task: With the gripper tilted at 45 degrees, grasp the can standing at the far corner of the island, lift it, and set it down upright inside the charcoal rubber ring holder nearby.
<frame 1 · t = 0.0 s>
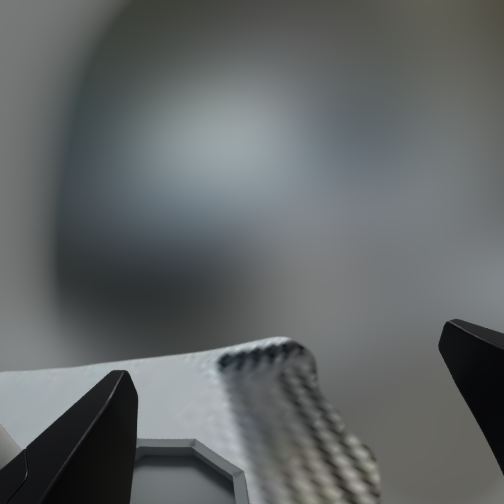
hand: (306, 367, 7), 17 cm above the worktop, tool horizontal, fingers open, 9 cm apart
can: (26, 500, 11), on the worktop
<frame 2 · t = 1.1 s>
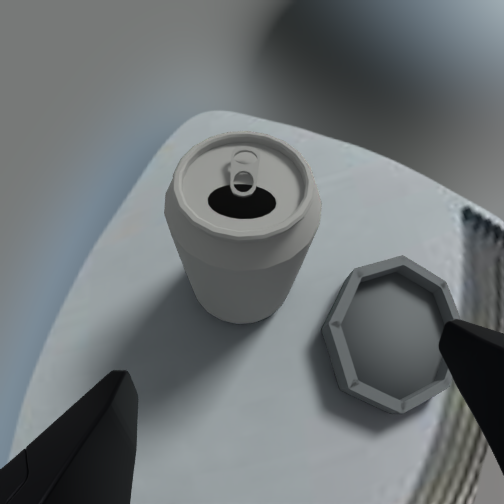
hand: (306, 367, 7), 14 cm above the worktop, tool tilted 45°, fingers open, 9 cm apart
can: (241, 280, 23), on the worktop
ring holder: (394, 336, 21), on the worktop
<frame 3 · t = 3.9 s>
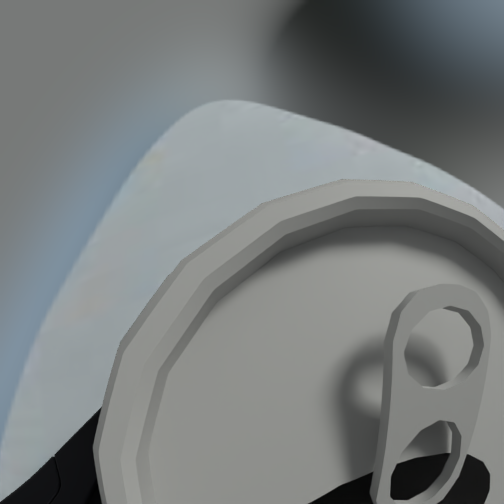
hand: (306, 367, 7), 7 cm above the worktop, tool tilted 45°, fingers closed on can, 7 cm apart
can: (278, 404, 13), on the worktop, touching gripper
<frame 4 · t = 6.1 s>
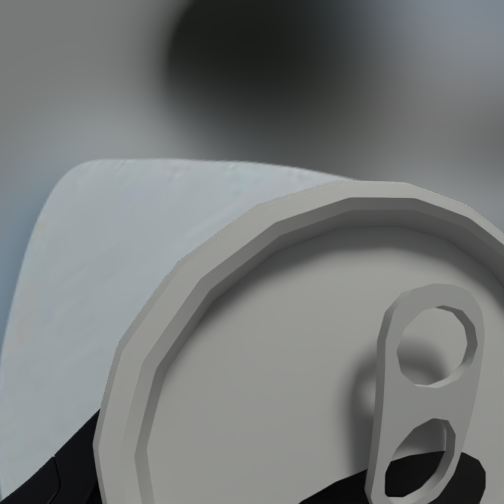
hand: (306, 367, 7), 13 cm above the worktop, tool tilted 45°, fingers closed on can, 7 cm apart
can: (277, 403, 13), point 6 cm above the worktop, touching gripper
when the fingers open (8 cm above the worktop, at t = 8.2 s): can stays where it is, resting on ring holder.
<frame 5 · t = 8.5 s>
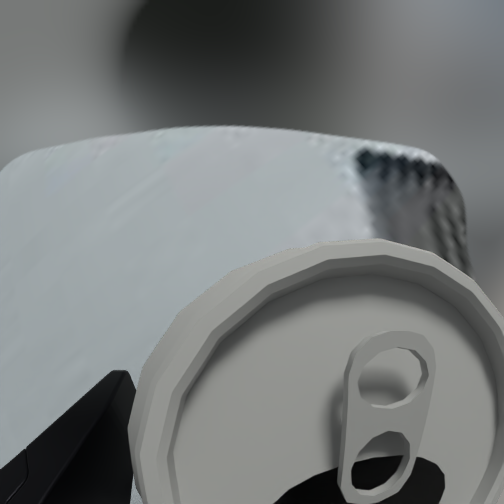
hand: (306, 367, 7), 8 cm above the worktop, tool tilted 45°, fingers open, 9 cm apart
can: (275, 406, 14), resting on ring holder
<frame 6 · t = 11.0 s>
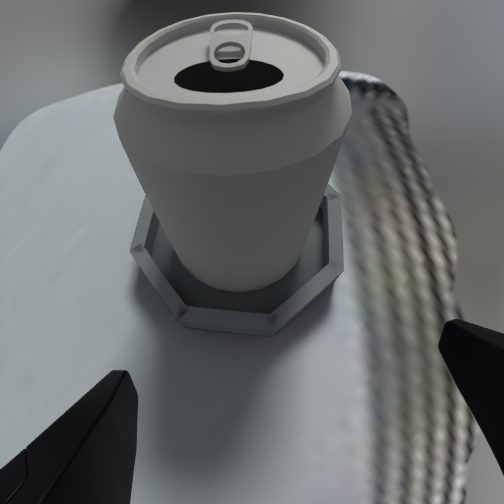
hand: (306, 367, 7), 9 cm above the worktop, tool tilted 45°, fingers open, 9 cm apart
can: (239, 236, 18), resting on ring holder
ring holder: (239, 236, 18), on the worktop
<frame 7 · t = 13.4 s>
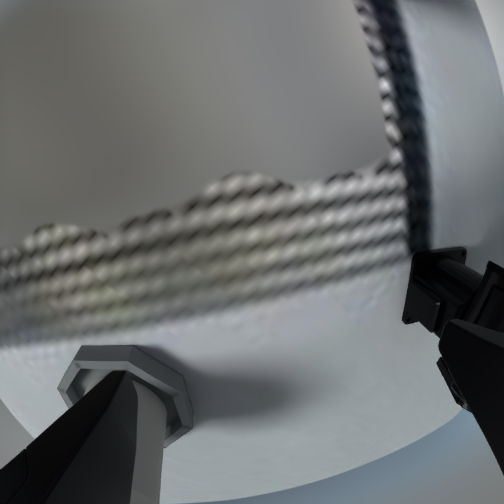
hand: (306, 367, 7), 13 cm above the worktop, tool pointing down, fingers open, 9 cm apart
can: (127, 398, 22), resting on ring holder
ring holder: (126, 395, 23), on the worktop
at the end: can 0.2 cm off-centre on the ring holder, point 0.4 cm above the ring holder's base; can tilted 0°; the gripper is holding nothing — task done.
